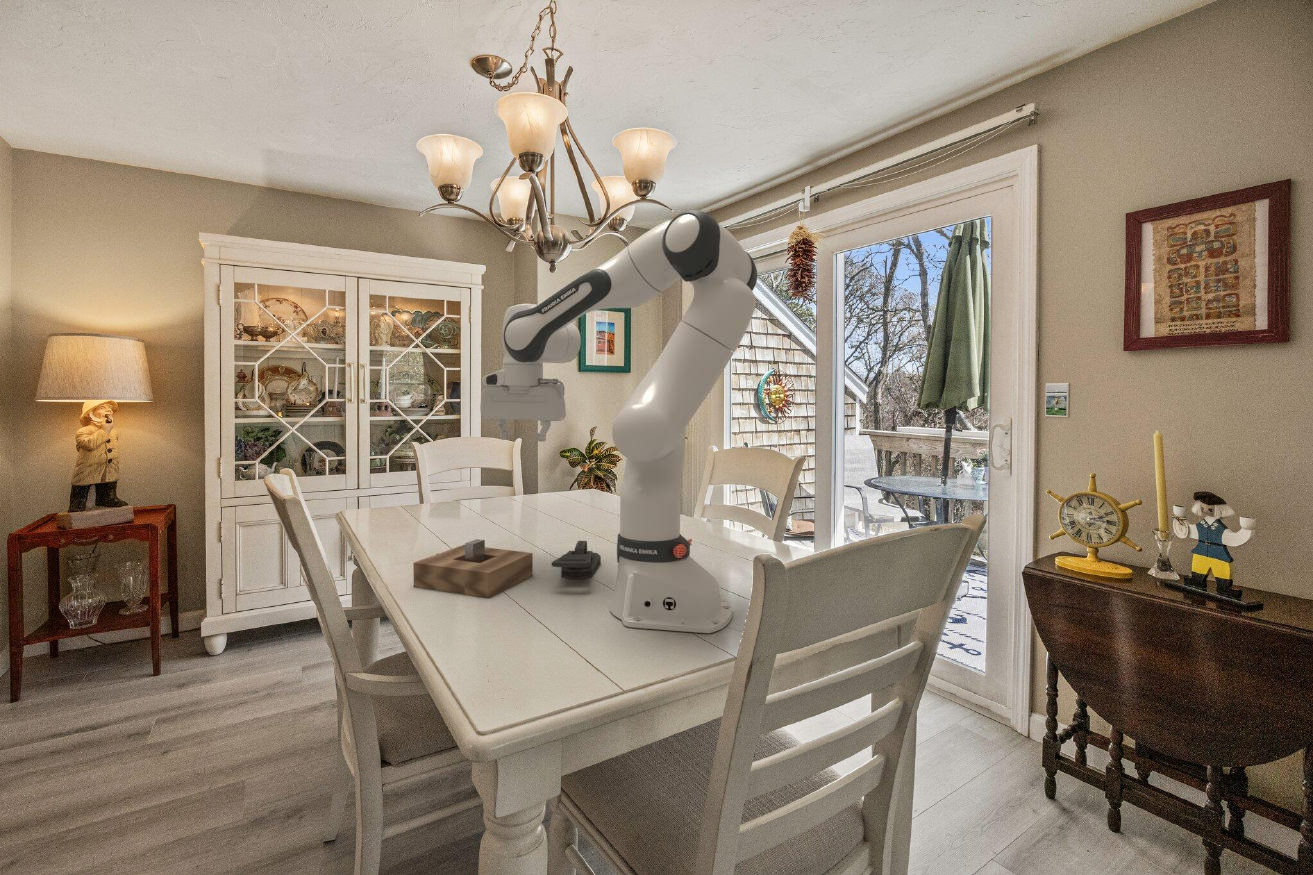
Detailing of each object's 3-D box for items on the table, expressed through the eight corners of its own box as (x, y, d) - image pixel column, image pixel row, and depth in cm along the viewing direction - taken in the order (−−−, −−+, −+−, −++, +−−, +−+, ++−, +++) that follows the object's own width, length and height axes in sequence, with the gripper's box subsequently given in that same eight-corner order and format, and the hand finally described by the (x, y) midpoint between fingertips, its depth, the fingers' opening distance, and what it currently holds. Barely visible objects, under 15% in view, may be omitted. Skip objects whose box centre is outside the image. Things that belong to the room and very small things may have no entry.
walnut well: (532, 575, 133) (532, 553, 133) (488, 598, 118) (488, 572, 118) (464, 566, 139) (463, 544, 139) (413, 586, 124) (413, 562, 124)
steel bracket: (490, 580, 130) (490, 540, 129) (479, 585, 126) (478, 544, 125) (471, 577, 131) (471, 538, 131) (459, 582, 128) (458, 542, 127)
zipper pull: (547, 562, 120) (564, 533, 145) (547, 595, 121) (564, 560, 146) (593, 562, 120) (601, 533, 145) (593, 595, 121) (601, 561, 146)
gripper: (571, 379, 135) (570, 441, 136) (493, 378, 142) (493, 437, 143) (556, 378, 129) (556, 443, 130) (476, 377, 136) (476, 439, 137)
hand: (522, 440), depth 136 cm, fingers open, 8 cm apart
